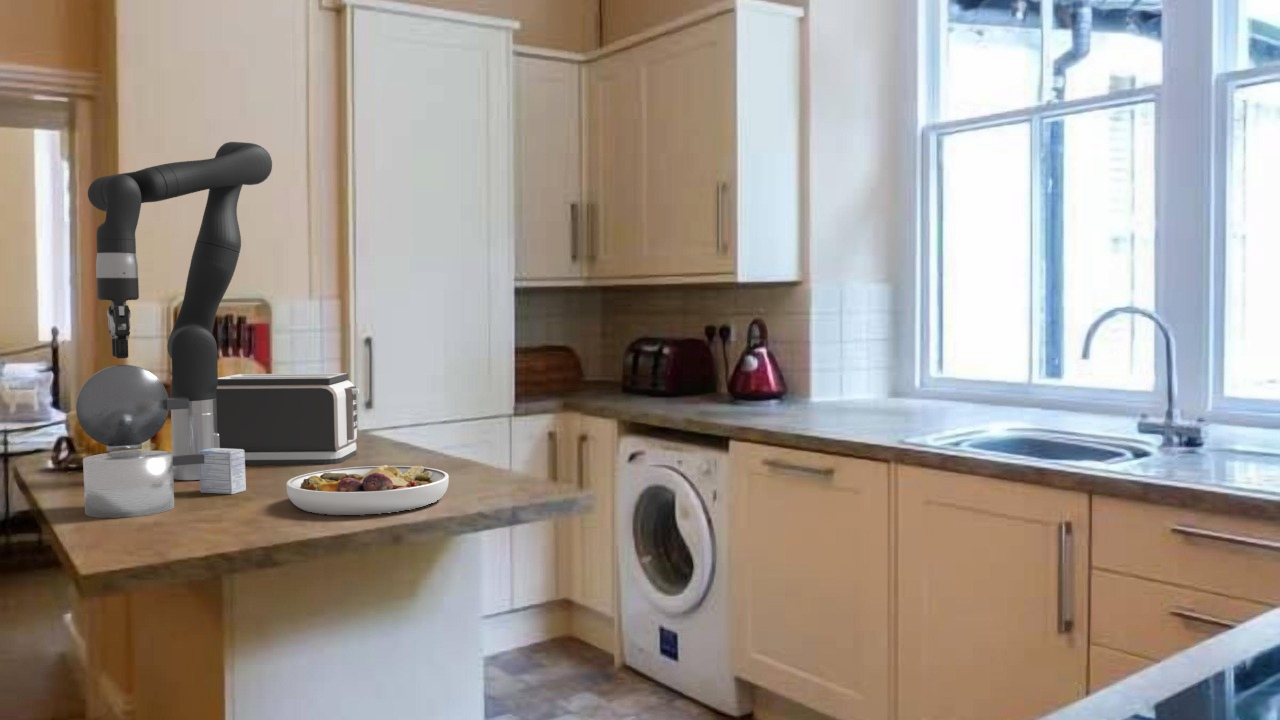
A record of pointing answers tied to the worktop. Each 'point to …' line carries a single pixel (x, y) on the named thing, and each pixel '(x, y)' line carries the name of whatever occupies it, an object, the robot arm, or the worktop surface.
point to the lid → (124, 406)
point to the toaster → (288, 417)
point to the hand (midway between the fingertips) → (120, 357)
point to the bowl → (367, 489)
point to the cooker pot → (131, 482)
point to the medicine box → (223, 471)
